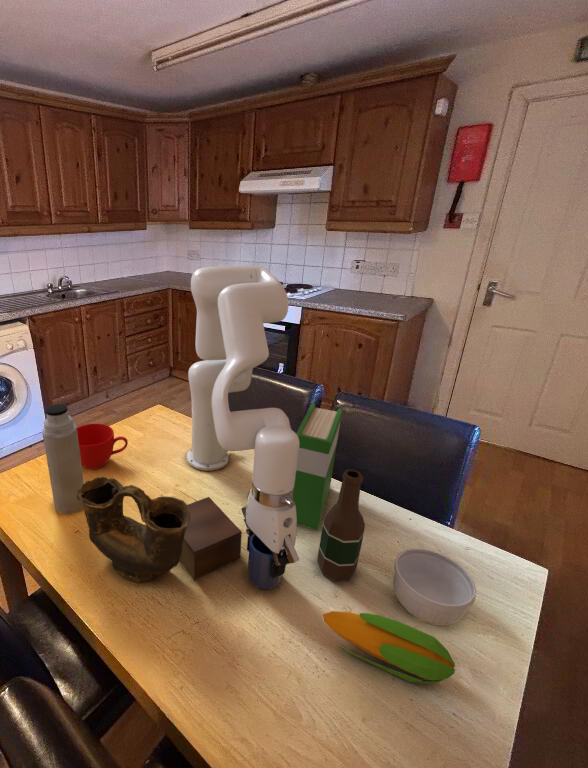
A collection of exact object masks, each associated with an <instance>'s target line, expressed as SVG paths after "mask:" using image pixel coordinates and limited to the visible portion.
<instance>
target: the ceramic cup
mask: <svg viewBox="0 0 588 768" xmlns="http://www.w3.org/2000/svg"><path fill="white" fill-rule="evenodd" d="M77 434H78V442H79V450H80V458H81V465H82V467H84V468H86V469H88V470H96V469H97V470H98V469H101V468H102V467H104V466H105V465H106V463H108V461H109V460H110V458H111V456H112V455H116V454H119V453H122V452H123V451H125V449H127V447H128V443H129V441H128V439H127V438H126V437H125V436H116V437H115V431H114V429H113V428H112V427H111V426H109V425H108V424H104V423H88V424H84V425H83V424H82V425H80V426H78V427H77ZM118 441H124V443H125V444H124V445H123V446H122V447H121V448H118V449H116V450H114V446H115V444H116V443H117V442H118Z"/></svg>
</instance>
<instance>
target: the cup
mask: <svg viewBox="0 0 588 768" xmlns="http://www.w3.org/2000/svg"><path fill="white" fill-rule="evenodd" d="M281 555H283V553H282V550H281V551H280V552H279V556H281ZM247 558H248V559H247V571H246V572H247V579H248V580H249V582H250V583H251V584H252V585H253V586H255V587H256V588H258V589H260V590H265V591H266V590H273V589H275V588H276V587H278V586H279V584H280V583H281V578H282V575H281V576H277V577H275V578H272V577H271V575H270V574H271V564H272V561H274V557H273V553H272V551H271V550H270V549H269V548H268V547H267V546H266V545H265V544H264V543H263V542H262V541H261V540H260V539H259V538H258V537H257V535H256V534H255V533H254V534H253V535H252V536H251V537H250V544H249V552H248V557H247Z"/></svg>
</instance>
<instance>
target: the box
mask: <svg viewBox="0 0 588 768" xmlns="http://www.w3.org/2000/svg"><path fill="white" fill-rule="evenodd" d="M242 536H243V535H239V536H237V537H235V538H232V539H230V540H228V541H226V542H223V543H221V544H219V545H216V546H214V547H212V548H209V549H207V550H205V551H202V552H200V553H198V554H195V555H194V554H193V552H192V551H191V550H190V548H189V547H188V546H187V544H186V543H185V542H184V540H183V543H182V553H181V557H180V562H181V563H182V565H183V566H184V567H185V569H186V570H187V572H188V573H189V574H190V576H191V578H192V579H193V580H194V581H196V580H198V579H200V578H202V577H204V576H207V575H209V574H210V573H213V572H216V571H217V570H219V569H221V568H224V567H226V566H228V565H231V564H232V563H234V562H236V561H239V560H241V552H242V538H243V537H242Z"/></svg>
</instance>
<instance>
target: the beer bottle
mask: <svg viewBox="0 0 588 768" xmlns="http://www.w3.org/2000/svg"><path fill="white" fill-rule="evenodd" d="M341 478H342V482H341V485H340V490H339V493H338V497H337V500H336V502H335V503H334V504H332V506H331V507H330V509H329V510H328V511H327V512H326V513H325V515H324V518H323V522H322V527H321V533H320V540H319V545H318V551H317V561H316V563H317V565H318V567H319V569H320V571H321V574H322V575H324V576H325V577H326V578H329V579H331V580H333V581H334V582H349V581H351V579H352V578H353V576H354V574H355V573H356V570H357V568H358V563H359V559H360V553H361V549H362V545H363V540H364V536H365V530H366V523H365V519H364V516H363V515H362V513H361V511H360V504H359V503H360V496H361V486H362V483H363V481H364V476H363V475H362V473H361V472H360V471H358V470H355V469H345V471H344V472H343V473H342V475H341Z"/></svg>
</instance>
